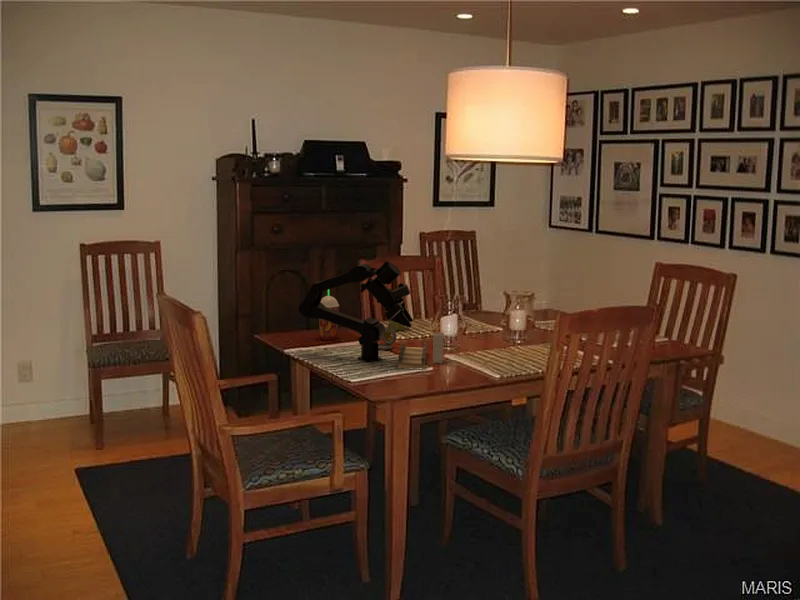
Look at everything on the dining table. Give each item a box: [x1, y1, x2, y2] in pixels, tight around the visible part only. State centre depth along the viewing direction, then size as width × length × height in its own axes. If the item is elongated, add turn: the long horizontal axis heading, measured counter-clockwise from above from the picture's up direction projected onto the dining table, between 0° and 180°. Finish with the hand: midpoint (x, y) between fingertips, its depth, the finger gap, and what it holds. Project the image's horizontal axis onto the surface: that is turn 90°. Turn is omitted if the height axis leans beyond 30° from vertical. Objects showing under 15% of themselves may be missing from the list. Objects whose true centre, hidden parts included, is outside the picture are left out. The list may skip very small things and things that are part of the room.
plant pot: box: [388, 307, 409, 332], centre depth 359 cm, size 9×9×9 cm
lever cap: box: [432, 332, 447, 364], centre depth 307 cm, size 4×5×10 cm
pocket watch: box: [378, 320, 398, 351], centre depth 326 cm, size 8×8×10 cm
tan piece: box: [397, 341, 428, 370], centre depth 309 cm, size 24×9×4 cm, turn 177°
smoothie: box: [318, 289, 340, 341], centre depth 339 cm, size 8×8×20 cm
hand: (411, 323), depth 306 cm, fingers open, 9 cm apart
